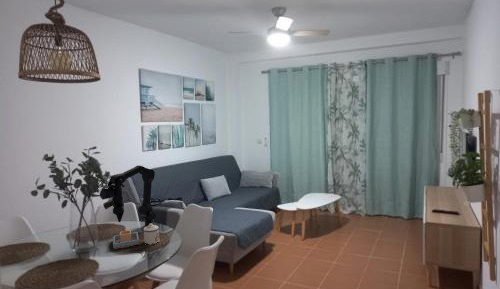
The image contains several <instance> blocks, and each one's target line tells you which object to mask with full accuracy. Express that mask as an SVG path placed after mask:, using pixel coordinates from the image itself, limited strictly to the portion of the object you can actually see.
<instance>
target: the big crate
mask: <svg viewBox="0 0 500 289" xmlns="http://www.w3.org/2000/svg"><path fill="white" fill-rule="evenodd" d="M136 236H137V240H132V241H126V242H120V243H115V240H118V239H120V234H116V235H113V239H112V240H113V241H112V246H113V248H116V247H120V246H125V245H133V244H138V243H139V244H140V242H139V240H140V239H139V233H138V231H136V232H131V237H136Z"/></svg>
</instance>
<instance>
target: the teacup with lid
mask: <svg viewBox="0 0 500 289" xmlns="http://www.w3.org/2000/svg"><path fill="white" fill-rule="evenodd" d="M159 229H160V227H159V226H158V225H156V224H154V225H153V224H152V223H150V224H149V225H148V226H147V227H144V228H143V229H142V230H143V239H144V241H143V242H144V244H145V243H148V244H152V243H157V242H159V243H160V230H159ZM157 244H158V243H157Z"/></svg>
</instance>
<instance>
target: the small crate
mask: <svg viewBox="0 0 500 289" xmlns="http://www.w3.org/2000/svg"><path fill="white" fill-rule="evenodd" d="M131 233H132V232H131V229H128V230H123V231H122V230H121V231H119V235H120V240H121V242H126V241H131Z"/></svg>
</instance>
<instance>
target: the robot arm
mask: <svg viewBox="0 0 500 289" xmlns="http://www.w3.org/2000/svg"><path fill="white" fill-rule="evenodd" d="M138 174H140V175H141V178H142V181H143V195H142V203H141V205H139V207H138V208H139V209H138V213H139V215H140V217H141V218H142V219H144V225H143V227H144V228H145V227H147V226H148V225H149V224H150V223H152V224H153V225H155V224H154V220H155V218H157V214H156V213H155V212H154V211H153V206H152V204H151V198H152V182H153V181H154V179H155V177H156V176H155V175H156V171H154V169H152V168H151V169H149V168H147V167H145V166H143V165H135V166H134V167H132V168H130V169H128V170H125V171H124V172H122V173H116V174H113V175H111V176H110V177H111V179H110V178H109V180H108V182H107V184H108V186H109V188H108V189H105V188H106V187H101V190H100V191H99V197H100V199H102V200H107V199H109V198H110V200H107V201H106V202H104V203H103V204H102V205H103V208H104V209H105V210H108V209H109V208H112V214H113V215H115V216H116V218H117V222H118V223H121V221H122V219H123V215H124V213H125V201H124V196H123V188H125V187H126V185H125V184H123V183H125V182H126V180H128V179H129V178H132V177H134V176H136V175H138ZM111 198H112V199H111Z"/></svg>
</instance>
